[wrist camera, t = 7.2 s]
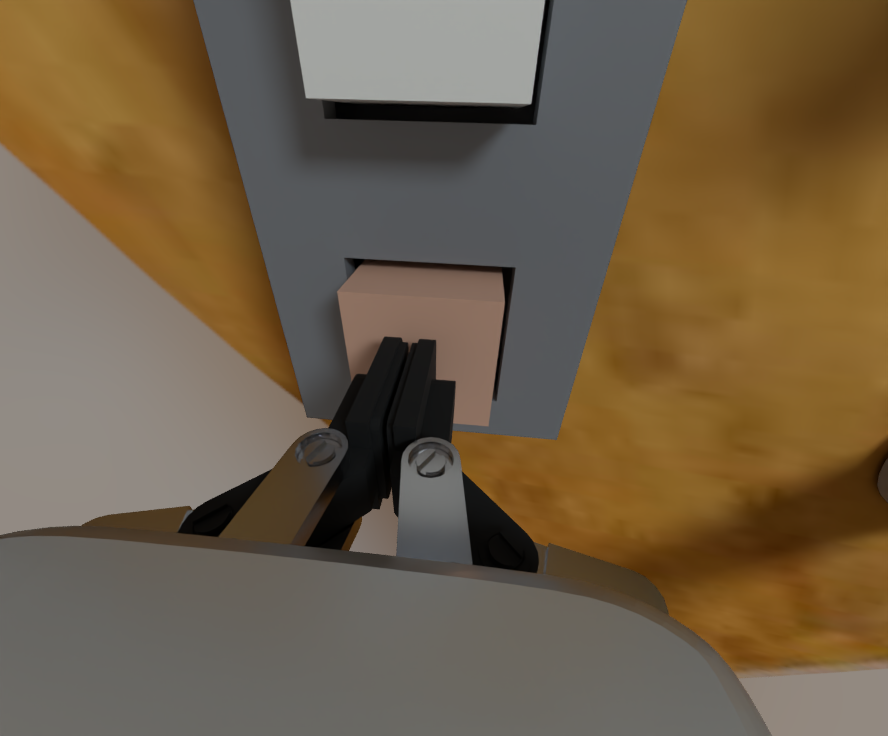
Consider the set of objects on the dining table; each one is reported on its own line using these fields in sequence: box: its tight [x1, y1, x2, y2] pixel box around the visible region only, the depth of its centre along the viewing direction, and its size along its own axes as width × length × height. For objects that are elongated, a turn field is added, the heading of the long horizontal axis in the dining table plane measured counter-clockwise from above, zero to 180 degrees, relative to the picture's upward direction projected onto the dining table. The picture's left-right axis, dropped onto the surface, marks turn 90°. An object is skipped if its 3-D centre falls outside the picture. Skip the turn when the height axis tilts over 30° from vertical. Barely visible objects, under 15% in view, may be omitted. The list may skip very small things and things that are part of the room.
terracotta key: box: [337, 259, 505, 426], centre depth 14 cm, size 5×5×5 cm
